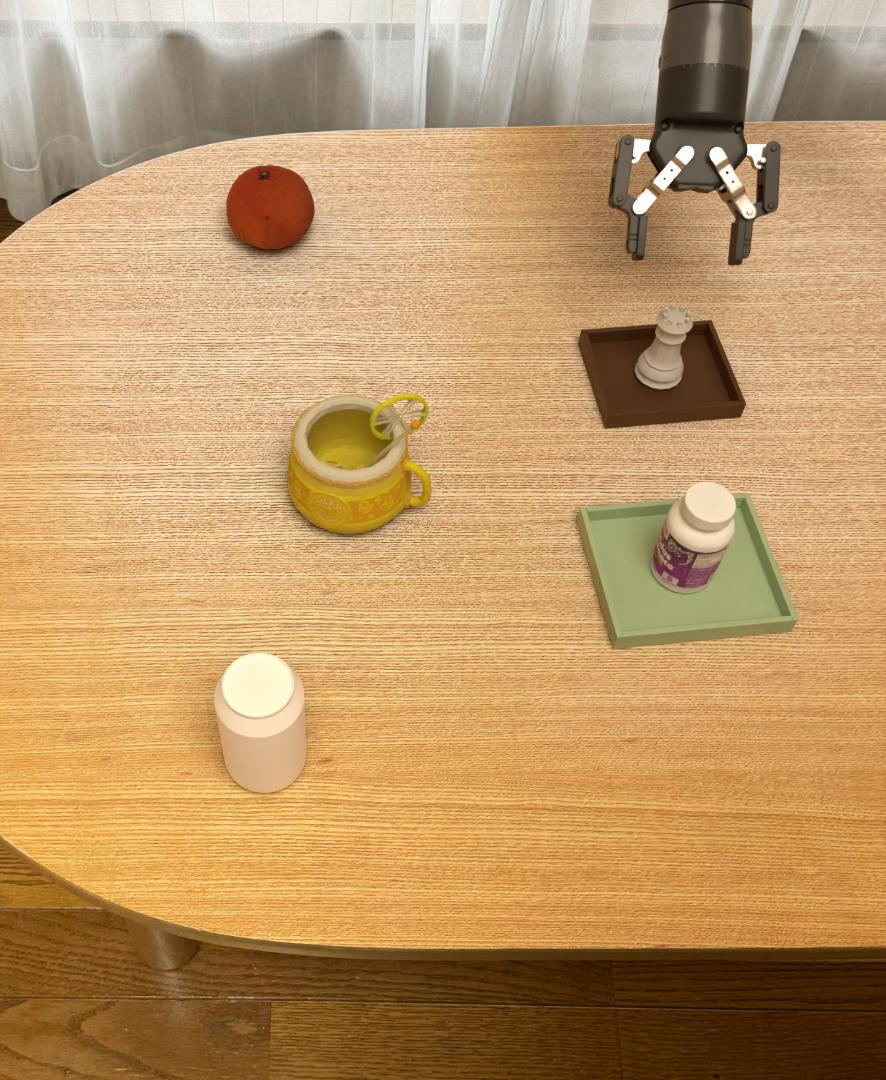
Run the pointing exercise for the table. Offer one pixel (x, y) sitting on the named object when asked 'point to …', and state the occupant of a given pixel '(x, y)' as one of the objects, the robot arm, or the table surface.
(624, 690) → the table surface
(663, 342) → the rook chess piece
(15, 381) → the table surface
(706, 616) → the green tray
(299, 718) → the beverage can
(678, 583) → the pill bottle
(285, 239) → the fruit
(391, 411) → the mug
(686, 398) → the walnut tray
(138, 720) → the table surface
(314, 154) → the table surface
